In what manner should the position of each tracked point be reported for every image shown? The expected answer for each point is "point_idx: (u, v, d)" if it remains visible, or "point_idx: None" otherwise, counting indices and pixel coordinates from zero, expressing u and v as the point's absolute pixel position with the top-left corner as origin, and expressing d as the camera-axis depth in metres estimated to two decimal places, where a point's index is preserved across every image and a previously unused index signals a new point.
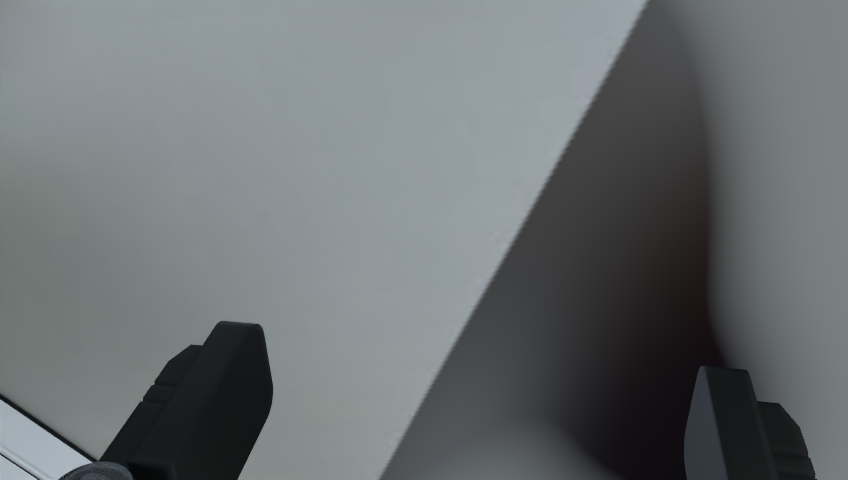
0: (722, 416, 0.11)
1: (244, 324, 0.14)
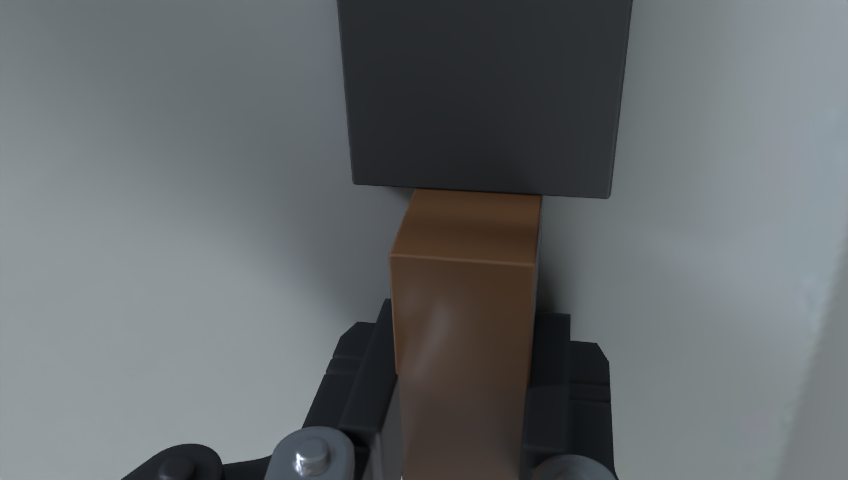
0: (535, 351, 0.13)
1: None
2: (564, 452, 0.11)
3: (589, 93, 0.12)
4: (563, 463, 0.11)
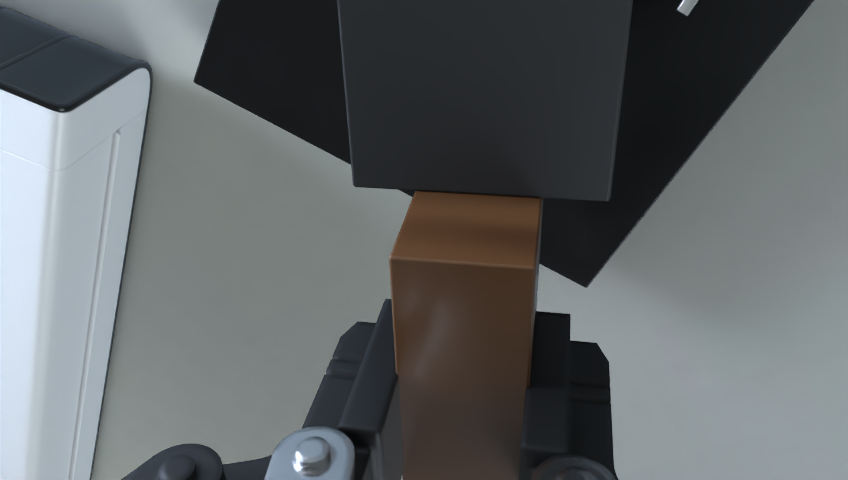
0: (535, 351, 0.13)
1: None
2: (564, 452, 0.11)
3: (589, 96, 0.12)
4: (563, 463, 0.11)
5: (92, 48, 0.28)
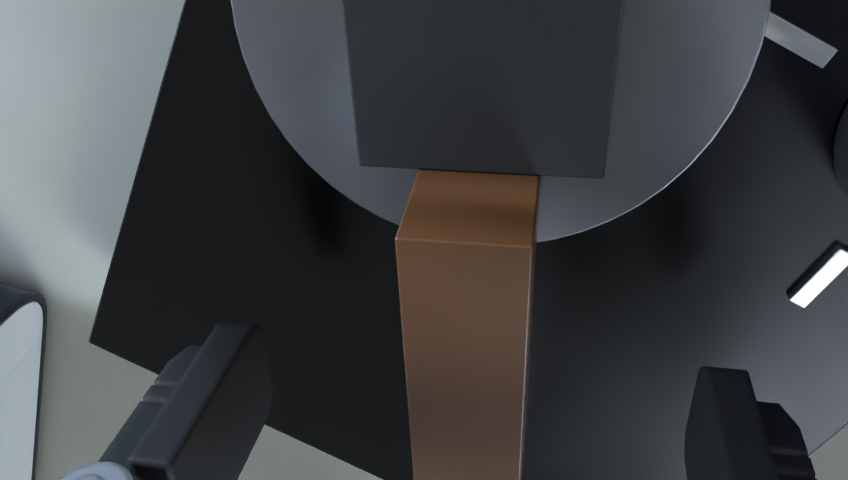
0: (722, 416, 0.11)
1: (244, 324, 0.14)
2: None
3: (584, 80, 0.12)
4: None
5: None
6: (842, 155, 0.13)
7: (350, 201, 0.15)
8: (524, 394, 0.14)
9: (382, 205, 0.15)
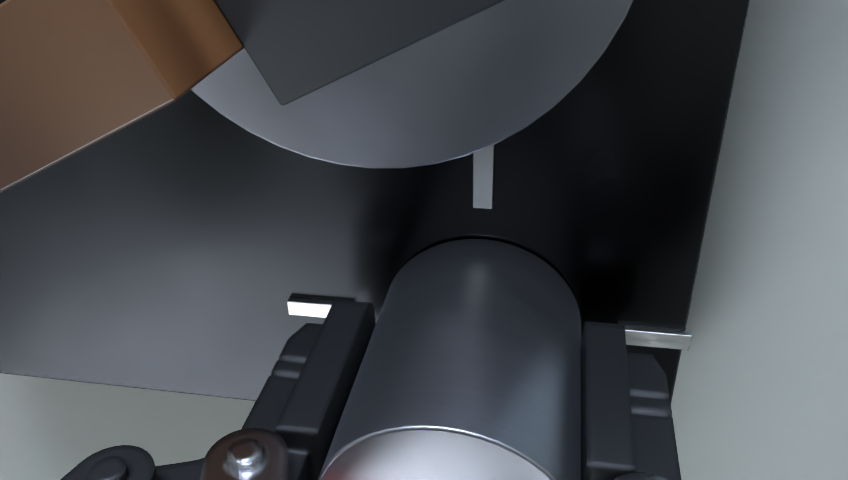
0: (592, 363, 0.13)
1: (359, 302, 0.14)
2: (632, 469, 0.11)
3: (354, 37, 0.12)
4: None
5: None
6: (419, 263, 0.14)
7: None
8: (30, 175, 0.12)
9: None
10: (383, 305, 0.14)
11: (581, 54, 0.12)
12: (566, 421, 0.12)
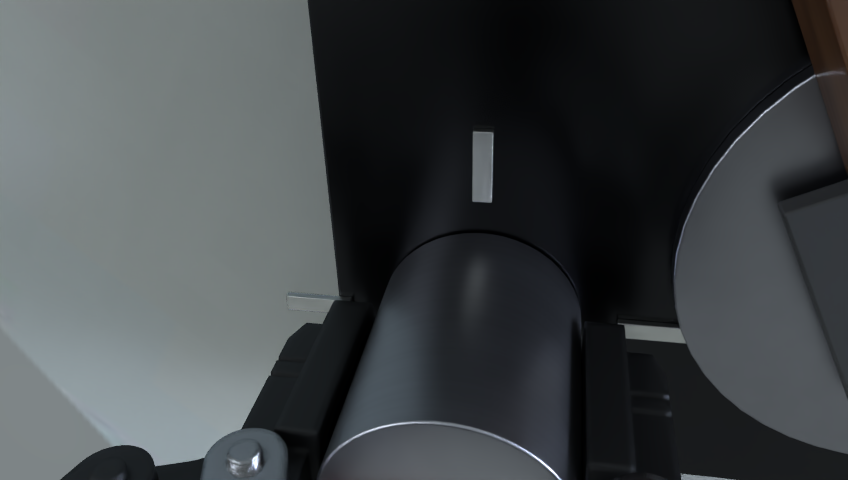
0: (592, 363, 0.13)
1: (359, 303, 0.14)
2: (632, 469, 0.11)
3: (846, 297, 0.12)
4: None
5: None
6: (413, 261, 0.14)
7: None
8: (832, 18, 0.09)
9: None
10: (380, 304, 0.15)
11: (765, 412, 0.15)
12: (562, 409, 0.11)
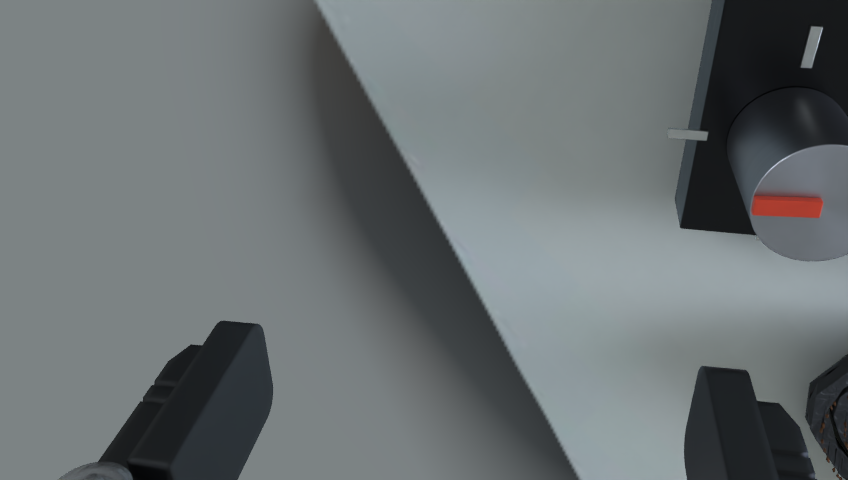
0: (722, 416, 0.11)
1: (244, 324, 0.14)
2: None
3: None
4: None
5: None
6: (762, 101, 0.26)
7: None
8: None
9: None
10: (740, 126, 0.26)
11: None
12: None
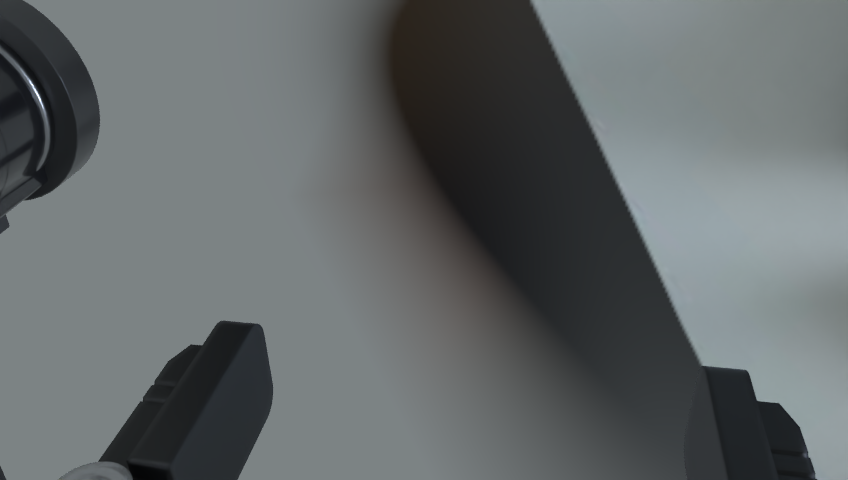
0: (722, 416, 0.11)
1: (244, 324, 0.14)
2: None
3: None
4: None
5: None
6: None
7: None
8: None
9: None
10: None
11: None
12: None
